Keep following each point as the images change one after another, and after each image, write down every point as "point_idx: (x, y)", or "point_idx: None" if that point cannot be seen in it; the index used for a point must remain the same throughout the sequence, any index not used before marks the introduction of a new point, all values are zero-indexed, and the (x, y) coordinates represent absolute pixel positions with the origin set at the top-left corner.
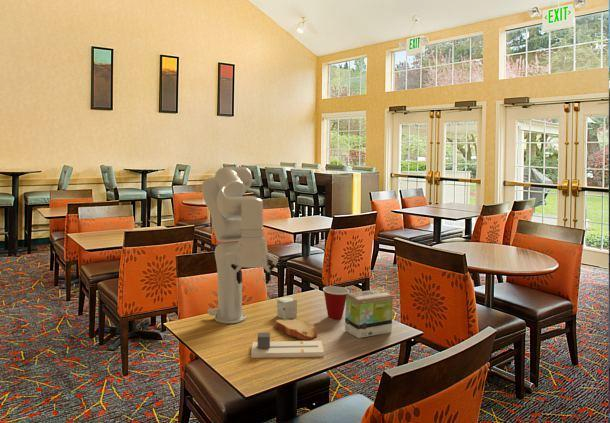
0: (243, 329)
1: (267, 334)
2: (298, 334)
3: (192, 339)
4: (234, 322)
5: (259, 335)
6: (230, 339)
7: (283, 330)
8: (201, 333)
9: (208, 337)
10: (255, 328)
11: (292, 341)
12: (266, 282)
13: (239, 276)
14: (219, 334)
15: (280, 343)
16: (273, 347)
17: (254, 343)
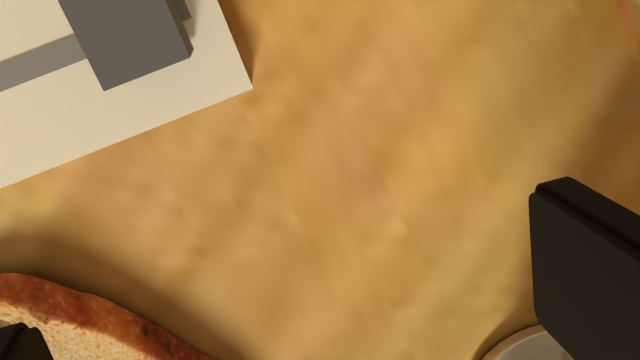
0: (413, 292)
1: (100, 45)
2: (15, 288)
3: (634, 59)
4: (495, 348)
5: (151, 3)
6: (426, 133)
7: (165, 337)
8: (615, 158)
9: (558, 117)
10: (354, 329)
11: (3, 182)
12: (3, 336)
13: (627, 244)
14: (514, 179)
15: (63, 123)
16: (70, 36)
17: (231, 65)
